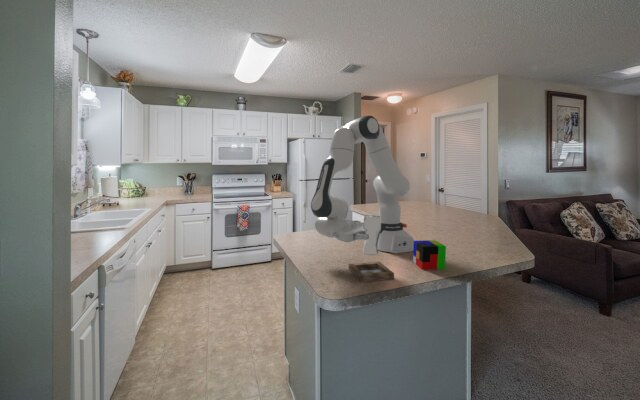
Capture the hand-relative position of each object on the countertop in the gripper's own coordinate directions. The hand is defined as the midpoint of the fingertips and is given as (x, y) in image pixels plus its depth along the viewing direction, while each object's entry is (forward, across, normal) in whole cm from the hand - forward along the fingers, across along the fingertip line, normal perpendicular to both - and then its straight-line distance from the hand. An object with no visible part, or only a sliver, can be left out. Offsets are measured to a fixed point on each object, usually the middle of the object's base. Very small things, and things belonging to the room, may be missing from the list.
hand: (373, 236), depth 121 cm
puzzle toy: (+11, +27, +16) cm, 33 cm away
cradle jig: (-1, 0, +16) cm, 16 cm away
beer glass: (-1, 0, +7) cm, 7 cm away
